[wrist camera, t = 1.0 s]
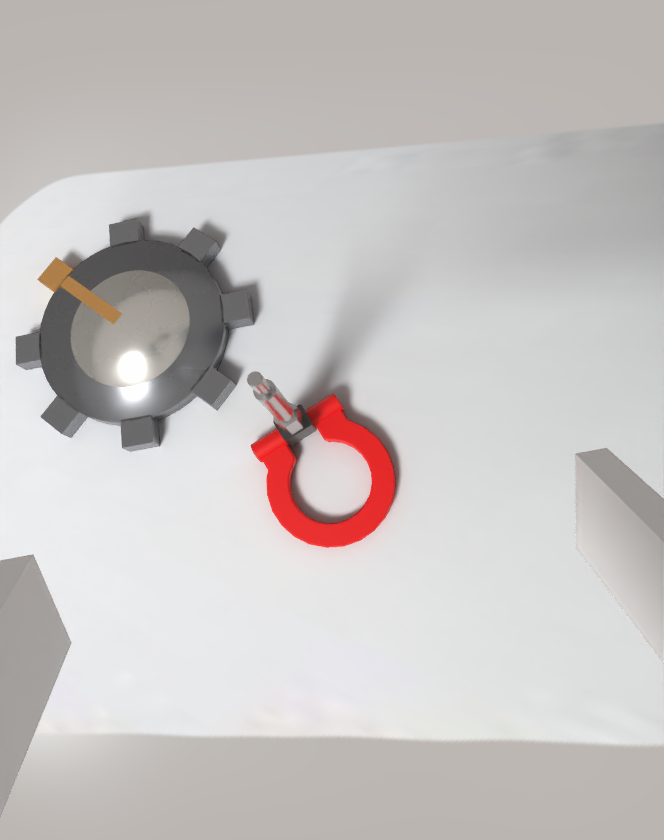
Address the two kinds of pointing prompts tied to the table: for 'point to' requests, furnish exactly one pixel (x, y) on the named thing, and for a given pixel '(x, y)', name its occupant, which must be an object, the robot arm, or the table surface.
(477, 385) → the table surface
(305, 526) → the tow hook
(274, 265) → the table surface
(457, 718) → the table surface
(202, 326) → the sprocket plate
